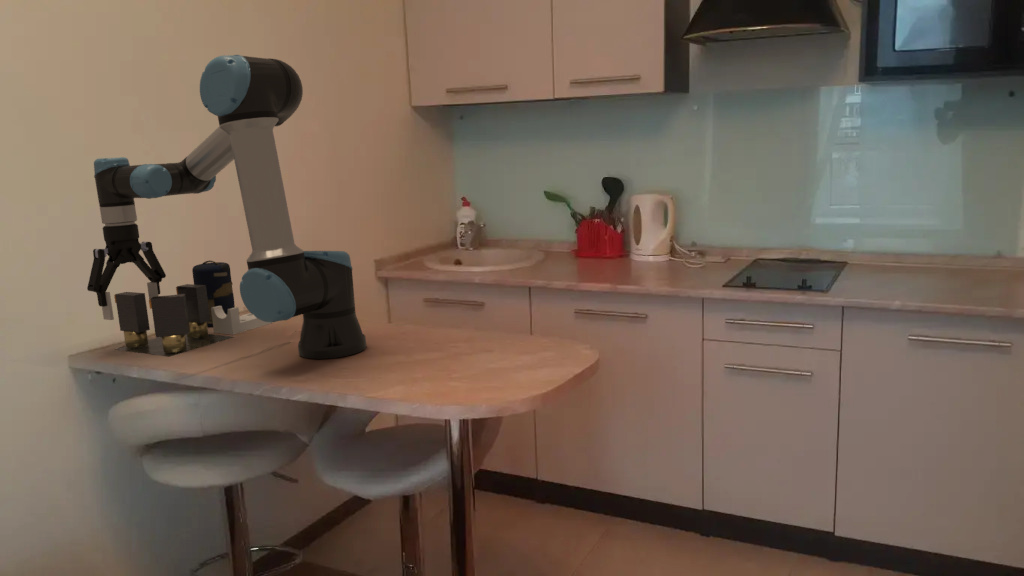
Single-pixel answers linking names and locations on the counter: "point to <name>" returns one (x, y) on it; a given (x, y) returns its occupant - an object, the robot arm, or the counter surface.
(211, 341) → the level plate
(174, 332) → the dark grey block
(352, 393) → the counter surface
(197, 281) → the canister
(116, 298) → the brass knob with block
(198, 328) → the knob right
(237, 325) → the bracket
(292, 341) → the counter surface
